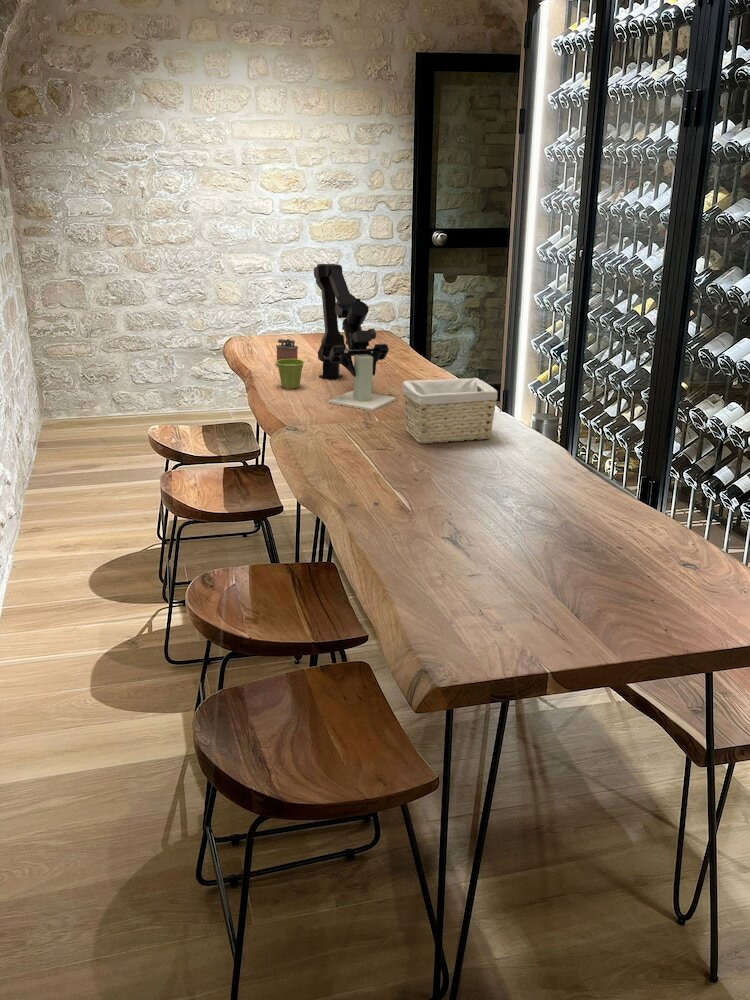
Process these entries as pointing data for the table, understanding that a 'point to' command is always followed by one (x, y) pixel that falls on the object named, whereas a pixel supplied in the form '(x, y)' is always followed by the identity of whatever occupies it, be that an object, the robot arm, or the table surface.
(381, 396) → the tile
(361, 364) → the block
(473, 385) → the storage basket
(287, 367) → the plant pot
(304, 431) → the table surface
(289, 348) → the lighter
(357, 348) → the robot arm
